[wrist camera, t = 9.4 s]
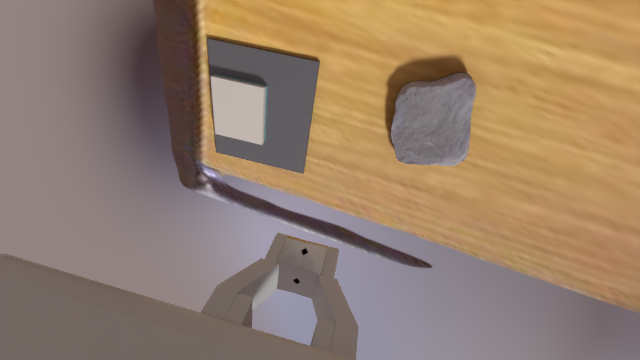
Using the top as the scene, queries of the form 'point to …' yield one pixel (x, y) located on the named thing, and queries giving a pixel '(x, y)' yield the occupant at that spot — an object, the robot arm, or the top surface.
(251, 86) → the tile
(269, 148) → the mat
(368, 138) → the top surface
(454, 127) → the stone block
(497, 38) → the top surface
